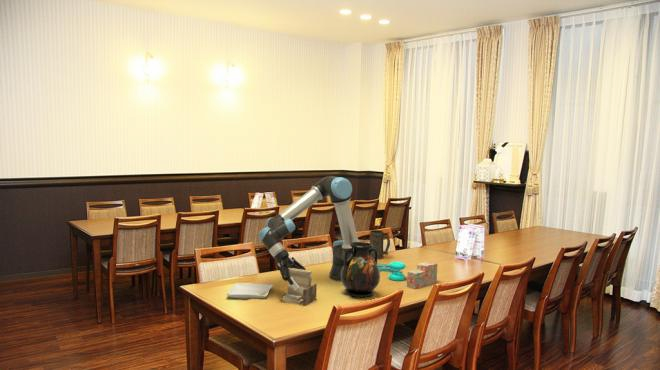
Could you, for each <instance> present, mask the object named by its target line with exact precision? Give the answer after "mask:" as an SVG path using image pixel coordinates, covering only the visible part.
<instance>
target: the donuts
mask: <svg viewBox="0 0 660 370" xmlns="http://www.w3.org/2000/svg"><path fill="white" fill-rule="evenodd" d="M388 265H389V267H390V268H392V269H394V270H400V271H402V270H404V269H406V263H404V262H402V261H391V262H389V264H388ZM388 279H390V280H391V281H396V282H400V281H404V280H405V279H406V276H405V274H403V272H402V273H399V272H393V273H391V272H390V273H389V274H388Z"/></svg>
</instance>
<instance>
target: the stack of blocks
mask: <svg viewBox="0 0 660 370" xmlns="http://www.w3.org/2000/svg"><path fill="white" fill-rule="evenodd" d="M437 279H438V263H436V262H432V261H424V262H422V263H417V264H416V269H413V270H407V276H406V287H407V288H409V289H413V290H417V289H421V288H425V287H428V286H432V285H434V283H435V284H437Z"/></svg>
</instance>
